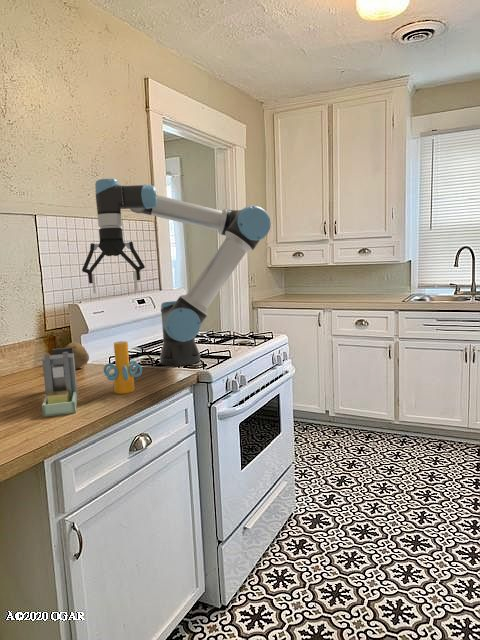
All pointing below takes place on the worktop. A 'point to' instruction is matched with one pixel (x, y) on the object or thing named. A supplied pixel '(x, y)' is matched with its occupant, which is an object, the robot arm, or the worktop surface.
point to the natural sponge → (79, 354)
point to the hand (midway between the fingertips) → (115, 292)
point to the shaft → (59, 368)
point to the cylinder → (122, 369)
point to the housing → (60, 382)
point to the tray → (59, 407)
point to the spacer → (58, 397)
